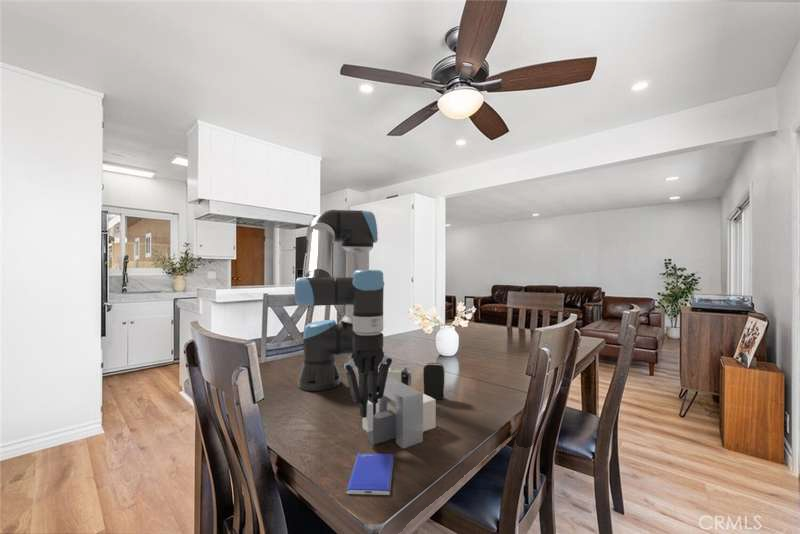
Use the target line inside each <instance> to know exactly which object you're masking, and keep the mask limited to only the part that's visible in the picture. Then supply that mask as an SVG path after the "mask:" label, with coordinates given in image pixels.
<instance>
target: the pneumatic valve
mask: <svg viewBox="0 0 800 534" xmlns="http://www.w3.org/2000/svg"><path fill="white" fill-rule="evenodd" d="M378 372H379V367H378ZM377 377H378V374H377ZM390 378H393V379H395V380H397V381H399V382H401V383H404V384H406V385H408V386H410V387H411V384H412V374H411V373H410V372H409V371H408V368H407V367H397V366H396V367H395V366H394V365H392V364H391V365H390V367H389V369H388V374H387V379H390Z"/></svg>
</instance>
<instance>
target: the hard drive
mask: <svg viewBox="0 0 800 534" xmlns="http://www.w3.org/2000/svg"><path fill="white" fill-rule="evenodd" d="M393 463H394V454H391V453H357V454H356V458H355V462H354V465H353V468H352V472H351V474H350V478H349V481H348V485H347V487H346V488H347V489H346V494H348V495H374V496H375V495H379V496H380V495H381V496H383V495H384V496H389V495H390V494H391V485H392V477H393V474H392V473H393V466H394V464H393Z"/></svg>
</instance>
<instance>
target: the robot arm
mask: <svg viewBox="0 0 800 534" xmlns="http://www.w3.org/2000/svg"><path fill="white" fill-rule="evenodd" d="M376 219H377V218H376V216H375V214H374V213H373V212H372V211H367V210H353V209H349V210H346V209H345V210H344V209H329V210H325V211H323V212H321V213H319V214H318V215H317V216H315V217H314V218H313V219H312V220H311V222H309V225H308V226H307V229H306V239H307V241H308V244H307V251H306V252H307V253H306V262H305V269H304V276H302V277H297V278H296V279H295V282H294V300H295V304H296V305H298V306H310V307H315V306H345V315H344V316H343V317H341V323H337V322H336V320H334V319H323V320H317V321H313V322H310V323H308V324H306V325H305V326H304V328H303V336H302V339H303V364H302V367H301V371H300V374H299V375H298V382H297V386H298V388H299V389H300V390H303V391H309V392H320V391H327V390H331V389H334V388H336V387H339V385H340V384H341V376H340V373H339V369H338V367H337V364H336V356H351V357H350V360H348V361H347V362H345V363H342V368H343V370H344V372H345V373H346V377H347V382H348V387H349V390H350V396H351V399H352V401H353V402H355V403H357V404H358V405H359V416H360V417H361V418H362V428H363V430H364V431H366V432H369V431H373V415H375V413H376V403H378V399H379V398H382V397H383V394H384V389H385V384H386V379H387V374H388V369H389V367H390V366H391V365H392V363H393V359H392V358H391V357H388V356H386V355H385V352H384V350H383V348H384V333H383V331H384V290H385V289H384V288H385V287H384V286H385V282H384V273H383V271H382V270H379V269H375V270H374V269H370V252H371V250H372V249H374V244H376V243H377V242H378V236H379V235H378V233H379V232H378V225H377V220H376ZM334 242H337V243H341V248H342V249H343V250H344V251H345V277H344V276H343V277H335V276H334V277H333V274H332V273H333V243H334ZM355 367H356V368H357V374H358V381H357V376H356V373H355V371H354V370H355V369H356V368H355ZM378 368H379V372H378ZM377 374H378V377H377Z"/></svg>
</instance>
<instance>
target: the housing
mask: <svg viewBox="0 0 800 534" xmlns="http://www.w3.org/2000/svg"><path fill="white" fill-rule="evenodd" d="M423 394H424V392H421V391H420V390H417V388H414V387H412V386H411V385H410V386H408V385H406V384H404V383H401V382H399V381H397V380H395V379H393V378H390V379H386V384H385V389H384V394H383V397H382V398H379V399H378V403H376V413H380V412H383V411H387V402H391V401H395V402H396V438H395V444H396V445H398V447H400V448H401V449H403V450H404V449H406V448H409V447H413V446H415V445H417V444H421V443H423V442H424V432H423ZM376 413H375V414H376Z"/></svg>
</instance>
